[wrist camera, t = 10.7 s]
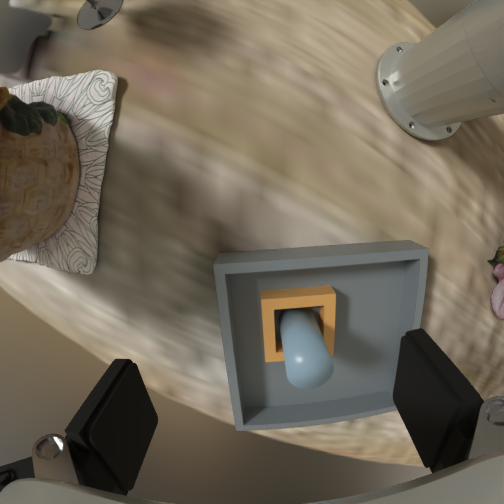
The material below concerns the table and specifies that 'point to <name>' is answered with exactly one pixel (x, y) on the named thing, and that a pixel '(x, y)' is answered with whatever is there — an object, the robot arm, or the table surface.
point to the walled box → (346, 325)
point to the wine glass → (97, 13)
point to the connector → (304, 349)
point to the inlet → (297, 299)
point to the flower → (500, 298)
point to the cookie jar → (54, 168)
